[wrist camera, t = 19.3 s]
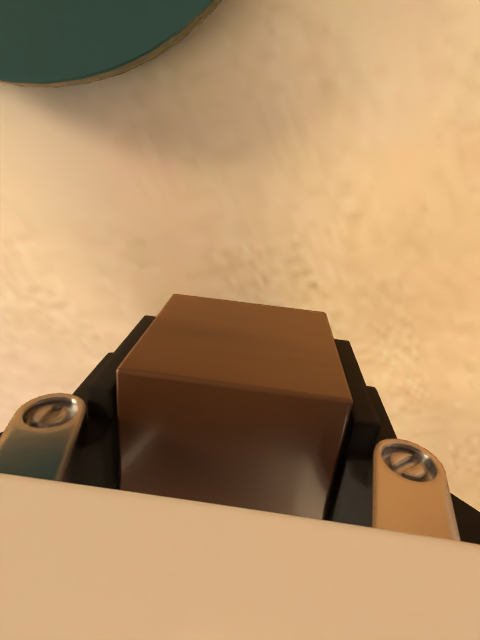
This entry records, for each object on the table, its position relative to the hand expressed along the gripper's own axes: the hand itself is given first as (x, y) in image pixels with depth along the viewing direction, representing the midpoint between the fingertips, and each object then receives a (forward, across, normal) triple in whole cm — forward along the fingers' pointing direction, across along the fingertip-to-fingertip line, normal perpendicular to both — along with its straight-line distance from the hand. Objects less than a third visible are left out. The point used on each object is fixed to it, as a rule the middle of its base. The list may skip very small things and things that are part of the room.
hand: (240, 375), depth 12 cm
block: (0, 0, 0) cm, 0 cm away
